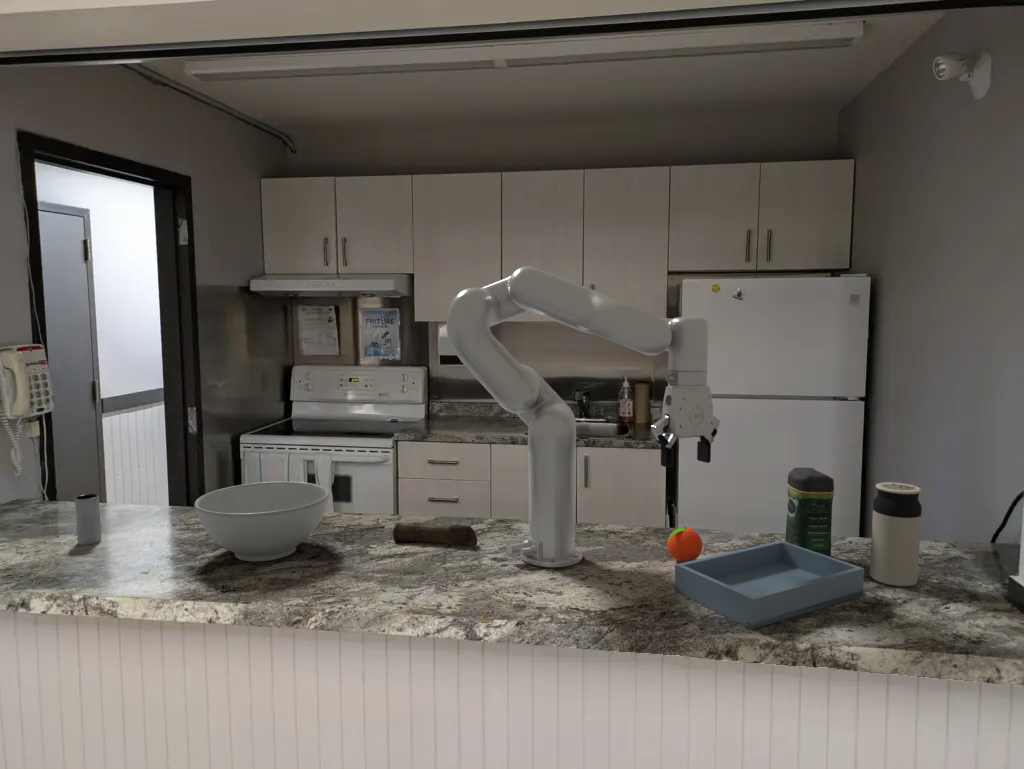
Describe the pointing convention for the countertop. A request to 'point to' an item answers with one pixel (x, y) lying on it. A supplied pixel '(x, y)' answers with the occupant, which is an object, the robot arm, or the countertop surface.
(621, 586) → the countertop surface
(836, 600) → the bin
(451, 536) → the hand tool
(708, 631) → the countertop surface
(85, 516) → the gray cylinder
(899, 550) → the travel mug
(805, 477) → the coffee jar
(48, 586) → the countertop surface
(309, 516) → the decorative bowl
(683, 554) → the clementine
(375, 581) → the countertop surface
